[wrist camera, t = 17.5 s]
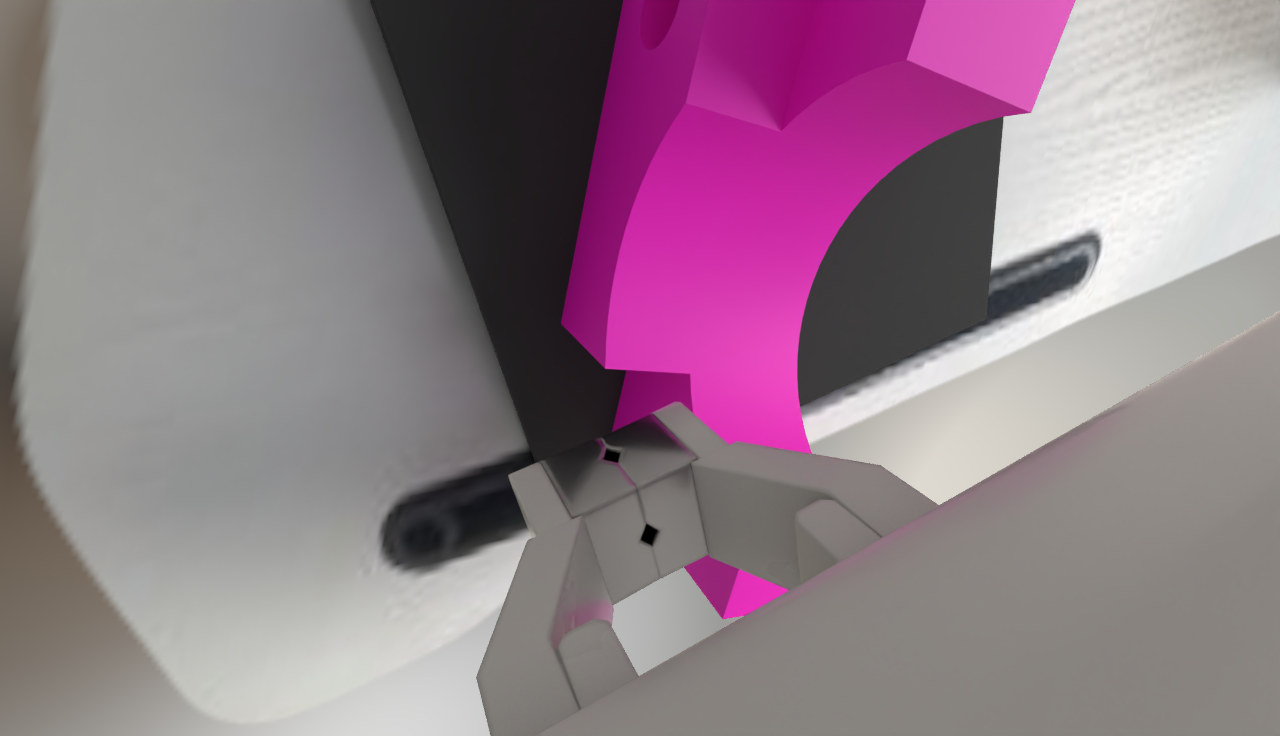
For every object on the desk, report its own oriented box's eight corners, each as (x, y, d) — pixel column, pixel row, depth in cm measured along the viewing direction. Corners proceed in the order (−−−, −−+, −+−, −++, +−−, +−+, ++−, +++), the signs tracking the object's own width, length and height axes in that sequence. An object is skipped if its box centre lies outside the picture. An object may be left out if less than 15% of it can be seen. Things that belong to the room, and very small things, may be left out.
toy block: (638, -78, 15) (854, -191, 9) (827, 6, 18) (1089, -35, 12) (534, 462, 20) (629, 634, 14) (698, 459, 23) (837, 599, 17)
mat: (552, 513, 22) (557, 521, 21) (361, -22, 14) (363, -25, 13) (976, 315, 27) (986, 319, 27) (1012, -143, 19) (1026, -147, 19)
